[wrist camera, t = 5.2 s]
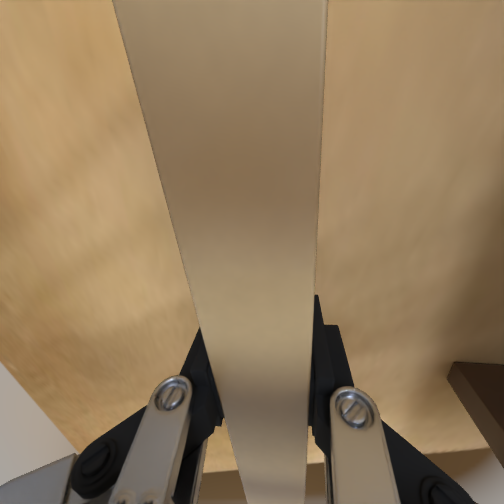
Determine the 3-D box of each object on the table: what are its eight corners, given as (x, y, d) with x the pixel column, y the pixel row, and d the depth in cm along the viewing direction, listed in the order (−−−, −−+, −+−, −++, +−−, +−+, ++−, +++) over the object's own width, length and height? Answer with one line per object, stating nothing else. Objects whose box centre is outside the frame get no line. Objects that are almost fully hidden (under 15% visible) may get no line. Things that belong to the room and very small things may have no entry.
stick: (299, 442, 16) (303, 527, 13) (258, 438, 17) (251, 519, 13) (307, -78, 5) (352, -490, 2) (182, -49, 6) (20, -328, 2)
